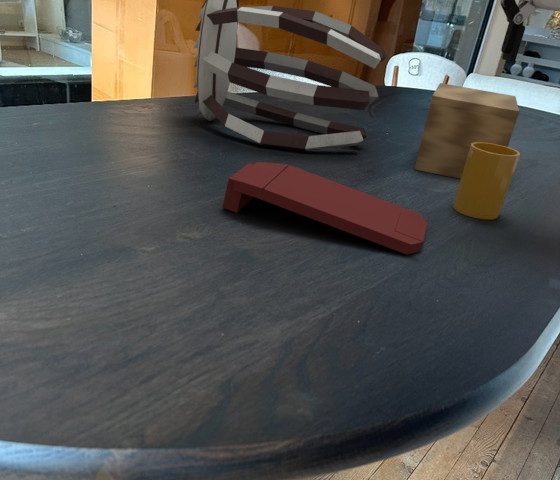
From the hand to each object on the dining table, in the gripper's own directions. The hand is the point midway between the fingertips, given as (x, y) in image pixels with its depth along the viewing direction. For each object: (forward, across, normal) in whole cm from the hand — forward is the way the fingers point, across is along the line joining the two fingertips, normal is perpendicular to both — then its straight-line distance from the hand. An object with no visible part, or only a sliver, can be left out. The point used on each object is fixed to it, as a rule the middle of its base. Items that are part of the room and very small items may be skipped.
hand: (544, 65), depth 75 cm
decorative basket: (+20, -32, +34) cm, 51 cm away
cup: (+20, -2, +1) cm, 20 cm away
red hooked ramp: (+20, -26, -10) cm, 34 cm away
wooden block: (+20, +2, +27) cm, 34 cm away
